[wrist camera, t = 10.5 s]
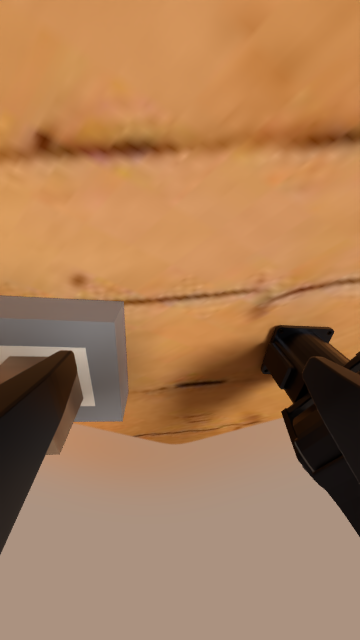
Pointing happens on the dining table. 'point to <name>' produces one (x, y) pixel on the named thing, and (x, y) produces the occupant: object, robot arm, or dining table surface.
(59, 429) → the walnut cube
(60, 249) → the dining table surface
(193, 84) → the dining table surface
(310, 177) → the dining table surface
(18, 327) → the plinth
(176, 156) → the dining table surface
